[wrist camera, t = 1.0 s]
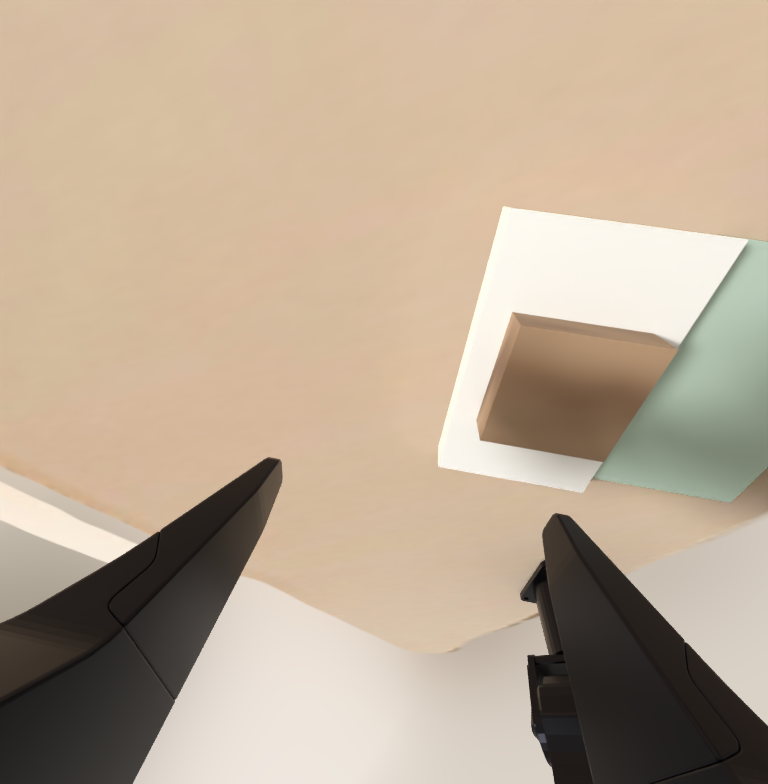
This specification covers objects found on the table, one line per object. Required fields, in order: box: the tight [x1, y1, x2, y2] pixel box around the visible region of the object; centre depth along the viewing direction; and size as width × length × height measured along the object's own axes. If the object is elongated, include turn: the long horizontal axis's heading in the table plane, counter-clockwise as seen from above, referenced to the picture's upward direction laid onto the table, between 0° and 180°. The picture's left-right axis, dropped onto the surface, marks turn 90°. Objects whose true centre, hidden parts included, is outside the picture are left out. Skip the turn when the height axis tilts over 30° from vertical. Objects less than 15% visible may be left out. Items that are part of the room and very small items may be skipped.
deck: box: [438, 206, 748, 493], centre depth 19 cm, size 16×10×2 cm, turn 173°
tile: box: [476, 312, 678, 462], centre depth 17 cm, size 7×7×2 cm
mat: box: [593, 235, 768, 503], centre depth 19 cm, size 16×11×1 cm
